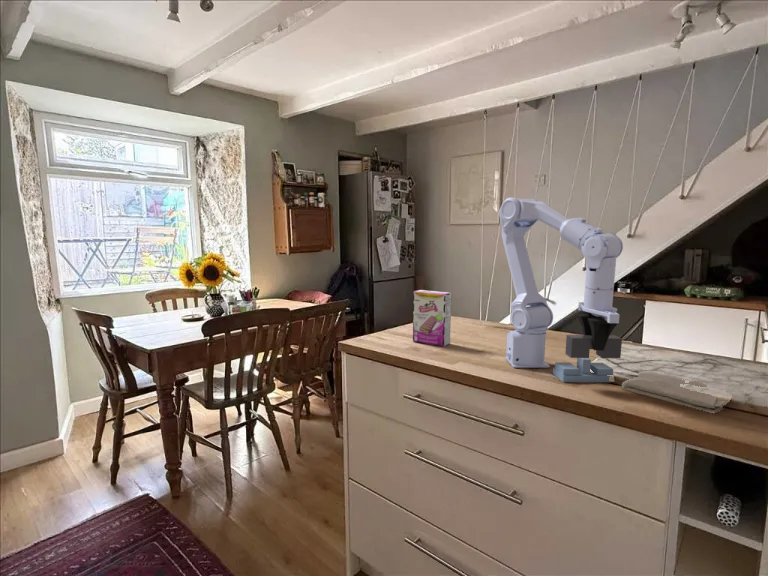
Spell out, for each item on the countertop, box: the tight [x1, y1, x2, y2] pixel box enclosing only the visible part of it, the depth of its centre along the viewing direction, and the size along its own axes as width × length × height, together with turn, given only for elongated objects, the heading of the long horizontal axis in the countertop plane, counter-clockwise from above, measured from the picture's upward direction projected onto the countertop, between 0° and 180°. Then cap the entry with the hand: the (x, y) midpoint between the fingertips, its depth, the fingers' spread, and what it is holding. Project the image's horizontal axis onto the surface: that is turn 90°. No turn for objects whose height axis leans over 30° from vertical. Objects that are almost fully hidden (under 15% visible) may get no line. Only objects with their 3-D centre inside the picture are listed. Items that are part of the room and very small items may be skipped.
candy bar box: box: [412, 289, 452, 347], centre depth 132 cm, size 11×5×16 cm, turn 58°
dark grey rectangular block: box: [565, 334, 623, 359], centre depth 95 cm, size 11×3×4 cm, turn 89°
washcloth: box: [621, 370, 725, 415], centre depth 91 cm, size 12×18×3 cm, turn 39°
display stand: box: [552, 357, 614, 383], centre depth 101 cm, size 12×6×5 cm, turn 90°
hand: (594, 347), depth 95 cm, fingers closed on dark grey rectangular block, 3 cm apart
